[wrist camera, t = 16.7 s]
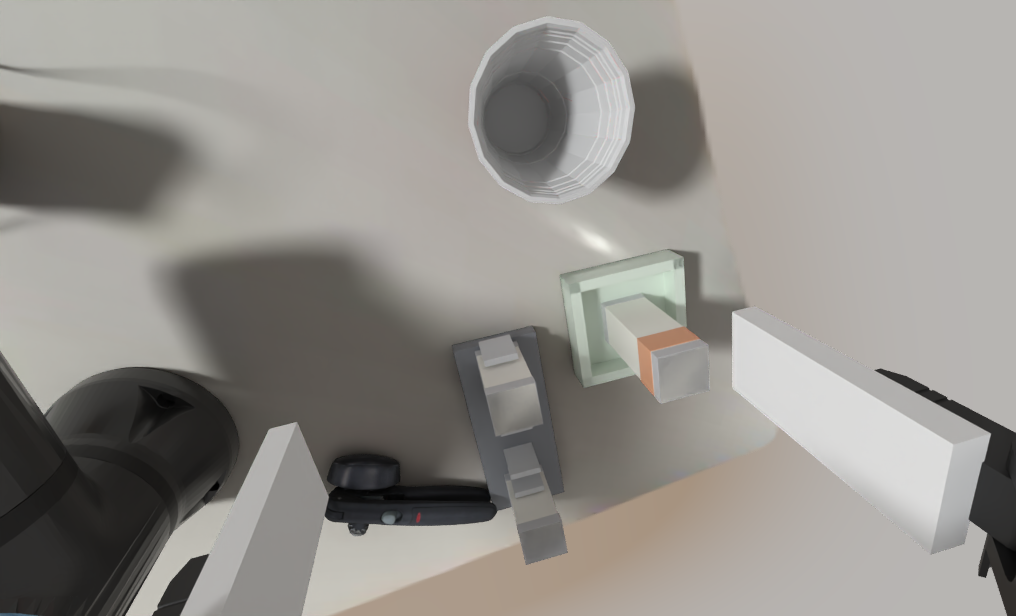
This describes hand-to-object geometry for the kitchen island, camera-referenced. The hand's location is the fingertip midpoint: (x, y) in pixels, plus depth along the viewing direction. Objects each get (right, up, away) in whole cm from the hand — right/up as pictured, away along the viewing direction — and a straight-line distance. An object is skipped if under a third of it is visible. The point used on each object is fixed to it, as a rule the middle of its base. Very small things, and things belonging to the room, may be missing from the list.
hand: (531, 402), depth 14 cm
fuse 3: (+11, +2, +34) cm, 35 cm away
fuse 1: (-2, -3, +32) cm, 33 cm away
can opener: (-11, -16, +38) cm, 43 cm away
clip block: (0, -9, +37) cm, 38 cm away
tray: (+11, +2, +35) cm, 36 cm away
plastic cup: (0, +19, +26) cm, 32 cm away
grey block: (+1, -16, +38) cm, 42 cm away
